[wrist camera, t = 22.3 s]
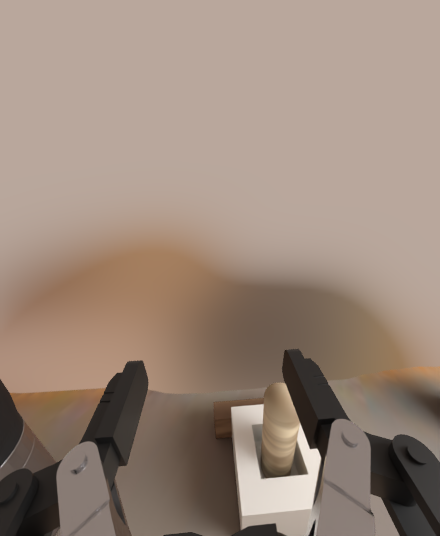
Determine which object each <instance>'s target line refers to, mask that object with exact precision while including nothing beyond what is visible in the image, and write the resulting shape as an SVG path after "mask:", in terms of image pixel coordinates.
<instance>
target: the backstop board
mask: <svg viewBox="0 0 440 536" xmlns="http://www.w3.org/2000/svg"><path fill="white" fill-rule="evenodd" d="M261 404H264V398H258V399H246V400H234V401H223V402H214V423H215V433H216V439H218V438H229V437H232V423H231V407H237V406H249V405H261Z"/></svg>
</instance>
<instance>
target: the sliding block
mask: <svg viewBox="0 0 440 536" xmlns="http://www.w3.org/2000/svg"><path fill="white" fill-rule="evenodd" d="M263 408H264V404H261V405H249V406H237V407H231V423H232V443H233V453H234V464H235V475H236V485H237V496H238V507H239V517H240V528H241V530H242V529H244V528H246V527H248V526H254V525H264V524H273V523H276V527H277V532H279V533H282V534H284V535H286V536H304V535H306V532H307V527H308V522H309V518H310V514H311V509H312V504H313V499H314V493H315V487H316V482H317V476H318V471H319V465H320V460H321V456H320V454H319V451H318V449H310V448H309V445H308V443H307V440H306V437H305V435H304V432H303V429H302V426H301V424H300V426H299V431H298V437H297V442H296V447H295V452H294V457H293V463H292V468H291V473H290V476H287V477H277V478H267V479H266V478H265V476H264V474H263V472H262V469H261V445H262V427H263Z"/></svg>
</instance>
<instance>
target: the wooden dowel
mask: <svg viewBox="0 0 440 536" xmlns="http://www.w3.org/2000/svg"><path fill="white" fill-rule="evenodd" d="M299 426H300V421H299V418H298V416H297V413H296V410H295V408H294V405H293V402H292V400H291V397H290V394H289V392H288V389H287V386H286V384H284V383H274V384H271V385H270V386H269V387H268V388H267V389H266V391H265V394H264V408H263V427H262V445H261V469H262V472H263V474H264V476H265V478H266V479H267V478H277V477H287V476H290V473H291V468H292V463H293V457H294V452H295V447H296V442H297V437H298V431H299Z"/></svg>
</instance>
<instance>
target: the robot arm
mask: <svg viewBox="0 0 440 536" xmlns="http://www.w3.org/2000/svg"><path fill="white" fill-rule="evenodd" d="M282 372H283V378H284V381H285V384H286V386H287V389H288V392H289V394H290V397H291V400H292V402H293V405H294V408H295V410H296V413H297V416H298V418H299V421H300V424H301V426H302V429H303V432H304V435H305V437H306V440H307V443H308V445H309V448H310V449H318V451H319V454H320V456H321V460H320V465H319V471H318V476H317V482H316V487H315V493H314V499H313V504H312V509H311V514H310V518H309V522H308V527H307V532H306V536H375V519H374V515H373V513H372V512H371V508H370V494H373V495H376V496H379V497H381V498H382V500H383V503H384V505H385V507H386V509H387V511H388V513H389V515H390V517H391V519H392V521H393V523H394V525H395V527H396V529H397V531H398V533H399V535H400V536H440V462H439V461H438V459H437V458H436V457H435V455H434V454H433V453H432V452H431V451H430V450H429V449H428V448H427V447H426V446H425V445H424V444H422V443H421V442H420V441H418V440H417V439H415V438H413V437H410V436H408V435H397V436H395V437H394V439H393V440H389V439H386V438H382V437H378V436H375V435H371V434H368V433H366V432H364V431H363V430H362V429H361V428H360V427H359V426H357V425H356V424H355V423H353V422H351V420H350V419H349V418H348V416H347V415H346V413H345V412H344V410H343V408H342V406H341V405H340V403H339V401H338V399H337V398H336V396H335V394H334V392H333V391H332V389H331V387H330V386H329V385H328V382H327V380H326V379H325V377H324V375H323V373H322V372H321V370H320V368H319V367H318V365H317V364H315V363H314V362H313V361H312V360H311V359H304V357H303V355H302V353H301V351H300V350H299V349H291V350H285V352H284V358H283V366H282ZM147 390H148V377H147V373H146V370H145V366H144V363H143V361H129V362H127V364H126V365H125V368H124V370H123V372H122V373H117V374H116V375H115V376H114V377H113V378H112V379H111V380H110V382H109V383H108V385H107V387H106V389H105V391H104V395H103V396H102V398H101V400H100V403H99V404H98V406H97V408H96V410H95V413H94V415H93V417H92V419H91V421H90V423H89V425H88V427H87V430H86V432H85V434H84V436H83V438H82V440H81V441H80V443H79V444H78V445H77V446H75V447H74V448H73V449H72V450H70V451H69V452H68V454H67V455H66V456H65V457H64V458H63V460H61V461H59V462H56V461H55V460H54V459H53V457H52V456H51V455H50V453H49V452H48V451H47V450H46V448H45V447H44V446H43V444H42V443H41V442H40V441H39V439H38V438H37V437H36V435H35V434H34V433H33V432H32V430H31V429H30V428H29V426H28V425H27V424H26V422H25V421H24V420H23V419H22V417H21V416H20V414H19V413H18V411H17V409H16V407H15V405H14V402H13V400H12V397H11V395H10V393H9V392H8V390H7V389H6V387H5V386H4V384H3V383H2V381H1V380H0V536H54V535H55V533H56V532H57V530H58V529H59V527H60V529H61V536H132V535H131V532H130V530H129V527H128V524H127V520H126V516H125V513H124V509H123V506H122V502H121V498H120V495H119V491H118V488H117V484H116V480H115V476H116V472H117V469H118V466H127V462H128V459H129V455H130V452H131V448H132V444H133V441H134V437H135V434H136V430H137V426H138V423H139V419H140V416H141V412H142V408H143V405H144V401H145V397H146V394H147ZM164 536H202V535H199V534H196V533H193V532H188V533H179V534H169V535H164ZM232 536H286V535H284V534H282V533H279V532H277V527H276V523H273V524H264V525H254V526H248V527H246V528H244V529H242V530H241V531H239V532H237V533H235V534H233V535H232Z"/></svg>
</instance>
